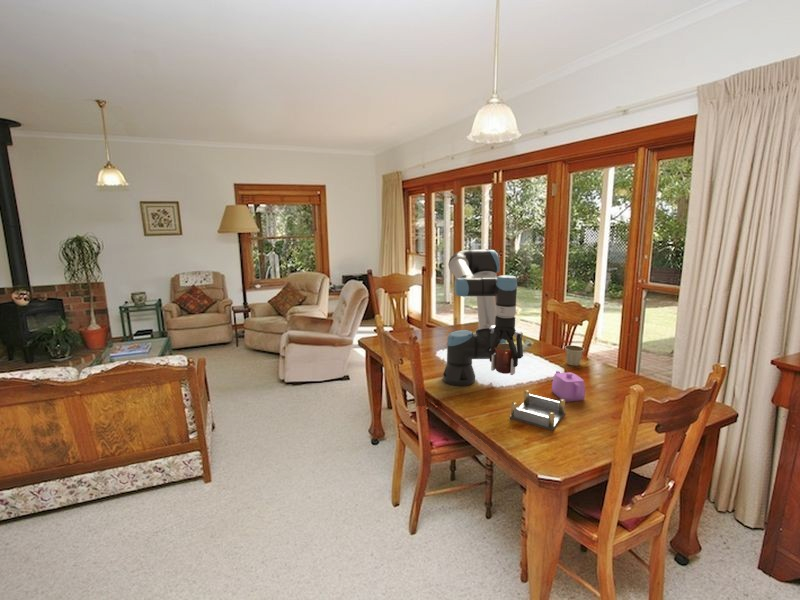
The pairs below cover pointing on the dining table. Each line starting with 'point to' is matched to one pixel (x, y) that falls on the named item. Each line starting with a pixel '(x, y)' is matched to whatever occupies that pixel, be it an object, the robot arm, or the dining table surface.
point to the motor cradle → (538, 411)
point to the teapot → (568, 386)
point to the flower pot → (573, 354)
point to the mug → (503, 358)
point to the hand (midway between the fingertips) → (502, 371)
